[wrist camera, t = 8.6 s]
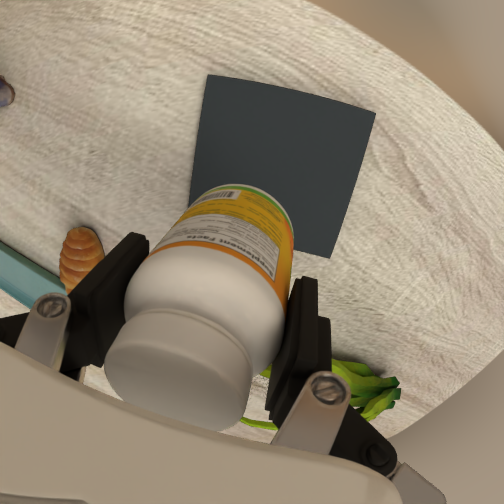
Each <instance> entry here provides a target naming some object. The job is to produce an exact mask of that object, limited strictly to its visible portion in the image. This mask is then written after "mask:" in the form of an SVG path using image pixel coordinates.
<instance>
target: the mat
mask: <svg viewBox="0 0 504 504" xmlns="http://www.w3.org/2000/svg"><path fill="white" fill-rule="evenodd" d="M375 115H376V113H374V112H371V111H368V110H365V109H362V108H359V107H356V106H353V105H349V104H346V103H343V102H339V101H336V100H332V99H328V98H325V97H321V96H317V95H313V94H309V93H305V92H301V91H297V90H293V89H288V88H284V87H279V86H274V85H270V84H265V83H259V82H254V81H248V80H243V79H237V78H230V77H224V76H217V75H208V76H207V82H206V87H205V93H204V99H203V105H202V111H201V117H200V123H199V130H198V136H197V143H196V150H195V157H194V165H193V172H192V180H191V188H190V196H189V204H188V208H189V207H190V206H191V205H192V204H193V203H194V202H195V201H196V200H197V199H198V198H199V197H200V196H201V195H203V194H204V193H206V192H207V191H209V190H211V189H213V188H215V187H218V186H222V185H227V184H243V185H249V186H253V187H256V188H258V189H261V190H263V191H264V192H266V193H268V194H269V195H271V196H272V197H273V198H274V199H275V200H276V201H278V203H279V204H280V205H281V206H282V207H283V208H284V210H285V211H286V213H287V215H288V217H289V219H290V221H291V224H292V228H293V235H294V247H293V249H294V250H298V251H301V252H305V253H309V254H313V255H317V256H321V257H325V258H329V259H330V257H331V254H332V251H333V249H334V246H335V243H336V240H337V237H338V235H339V232H340V229H341V226H342V223H343V220H344V217H345V214H346V211H347V208H348V205H349V202H350V199H351V196H352V193H353V190H354V187H355V183H356V180H357V177H358V174H359V171H360V167H361V164H362V161H363V158H364V154H365V151H366V147H367V144H368V140H369V137H370V134H371V130H372V126H373V123H374V119H375Z"/></svg>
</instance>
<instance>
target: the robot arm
mask: <svg viewBox="0 0 504 504" xmlns="http://www.w3.org/2000/svg"><path fill="white" fill-rule="evenodd" d="M148 255H149V240H146V237H145V235H142V234H138V233H134V232H130V233H129V234H128V235H127V236H126V237H125V238H124V239H123V240H122V241H121V242H120V243H119V244H118V245H117V246H116V247H115V248H113V249H112V250H111V251H110V252H109V253H108V254H107V256H106V257H105V258H104V259H102V260H101V261H99V263H98V264H97V265H96V266H95V267H94V268H93V269H92V270H91V271H90V272H89V273H88V274H87V275H86V276H85V277H84V278H83V279H82V280H81V281H80V282H79V283H78V284H77V285H76V287H75V288H74V289H73V290H72V291H71V292H70V293H69V294H68V295H67V296H66V295H64V294H62V293H58V292H51V293H47V294H44V295H42V296H40V297H39V298H38V299H37V300H36V301H35V303H34V304H33V306H32V308H31V311H30V312H27V313H23V314H18V315H14V316H9V317H4V318H0V504H446V499H445V496H444V494H442V492H441V491H440V490H439V489H437V488H436V487H435V486H434V485H432V484H431V483H430V482H429V481H427V480H426V479H425V478H424V477H422V476H421V475H420V474H419V473H417V472H416V471H415V470H414V469H412V468H411V467H410V466H409V465H408V464H406V463H405V462H404V463H403V464H401V463H400V462H399V461H397V453H396V451H395V449H394V447H393V446H392V445H391V443H390V442H389V441H387V440H386V439H385V438H384V437H383V436H382V435H381V434H380V433H379V432H378V431H377V430H376V429H375V428H374V427H373V426H372V425H371V424H370V423H369V422H368V421H367V420H366V419H364V418H363V417H362V416H361V415H360V414H359V413H358V412H357V411H356V410H355V409H354V408H353V407H352V406H351V405H350V404H349V402H350V399H351V389H350V386H349V385H348V383H347V382H346V381H345V380H344V379H343V378H342V377H341V376H339V375H338V374H336V373H333V372H332V350H331V324H330V319H329V318H325V317H321V316H318V281H317V279H314V278H310V277H306V276H302V278H301V279H298V278H296V279H295V282H294V285H293V288H292V291H291V294H290V297H289V300H288V305H287V314H286V323H285V330H284V336H283V341H282V344H281V347H280V350H279V352H278V354H277V356H276V357H275V359H274V360H273V362H272V367H271V373H270V379H269V386H268V392H267V398H266V404H265V410H267V411H270V414H269V420H273V423H274V425H275V426H276V427H277V428H278V429H279V430H278V431H277V433H276V435H275V436H274V438H273V440H272V441H271V443H270V444H267V443H262V442H258V441H253V440H248V439H244V438H240V437H235V436H231V435H227V434H223V433H219V432H216V431H212V430H208V429H205V428H201V427H198V426H194V425H191V424H188V423H184V422H181V421H178V420H175V419H172V418H169V417H165V416H162V415H160V414H157V413H154V412H151V411H148V410H145V409H143V408H140V407H137V406H134V405H132V404H129V403H127V402H124V401H122V400H119V399H117V398H114V397H112V396H109V395H107V394H105V393H102V392H100V391H98V390H95V389H93V388H91V387H88V386H86V385H84V384H83V382H84V377H85V372H86V366H89V365H90V364H92V365H95V366H97V367H99V368H101V367H102V366H103V364H104V360H105V357H106V354H107V352H108V350H109V349H110V347H111V345H112V344H113V342H114V340H115V339H116V337H117V336H118V333H119V332H120V330H121V328H122V327H123V325H124V324H125V323H126V320H125V315H124V298H125V293H126V289H127V286H128V284H129V282H130V280H131V278H132V277H133V275H134V273H135V272H136V271H137V269H138V268H139V266H140V265H141V263H142V262H143V261H144V260H145V258H146V257H147V256H148Z"/></svg>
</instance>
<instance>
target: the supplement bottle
mask: <svg viewBox="0 0 504 504" xmlns="http://www.w3.org/2000/svg"><path fill="white" fill-rule="evenodd" d="M293 247H294V235H293V228H292V224H291V221H290V219H289V217H288V215H287V213H286V211H285V210H284V208H283V207H282V206H281V205H280V204H279V203H278V201H276V200H275V199H274V198H273V197H272V196H271V195H269V194H268V193H266V192H264V191H263V190H261V189H258V188H256V187H253V186H249V185H243V184H227V185H222V186H218V187H215V188H213V189H211V190H209V191H207V192H206V193H204V194H203V195H201V196H200V197H199V198H198V199H197V200H196V201H195V202H194V203H193V204H192V205H191V206H190V207H189V208H188V209H187V211H186V212H185V213H184V214H183V215H182V216H181V217H180V219H179V220H178V221H177V222H176V223H175V224H174V226H173V227H172V228H171V229H170V230H169V231H168V233H167V234H166V235H165V236H164V237H163V238H162V240H161V241H160V242H159V243H158V244H157V245H156V247H155V248H154V249H153V250H152V251H151V253H150V254H149V255H148V256H147V257H146V258H145V260H144V261H143V262H142V263H141V265H140V266H139V268H138V269H137V271H136V272H135V273H134V275H133V277H132V278H131V280H130V282H129V284H128V286H127V289H126V293H125V298H124V315H125V320H126V323H125V324H124V325H123V327H122V328H121V330H120V332H119V333H118V336H117V337H116V339H115V340H114V342H113V344H112V345H111V347H110V349H109V350H108V352H107V354H106V357H105V360H104V370H105V374H106V377H107V379H108V381H109V383H110V385H111V387H112V388H113V389H114V391H115V392H116V393H117V394H118V395H119V396H120V397H121V398H122V399H123V400H124V401H125V402H127V403H129V404H132V405H134V406H137V407H140V408H143V409H145V410H148V411H151V412H154V413H157V414H160V415H162V416H165V417H169V418H172V419H175V420H178V421H181V422H184V423H188V424H191V425H194V426H198V427H201V428H205V429H208V430H212V431H216V432H218V431H223V430H226V429H228V428H230V427H232V426H234V425H235V424H237V423H238V422H239V421H240V419H241V418H242V417H243V414H244V412H245V409H246V405H247V401H248V397H249V392H250V387H251V381H252V378H253V377H255V376H257V375H258V374H260V373H261V372H263V371H264V370H265V369H266V368H267V367H268V366H269V365H270V364H271V363H272V362H273V360H274V359H275V357H276V356H277V354H278V352H279V350H280V347H281V344H282V341H283V336H284V330H285V323H286V314H287V305H288V296H289V288H290V278H291V268H292V259H293Z"/></svg>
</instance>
